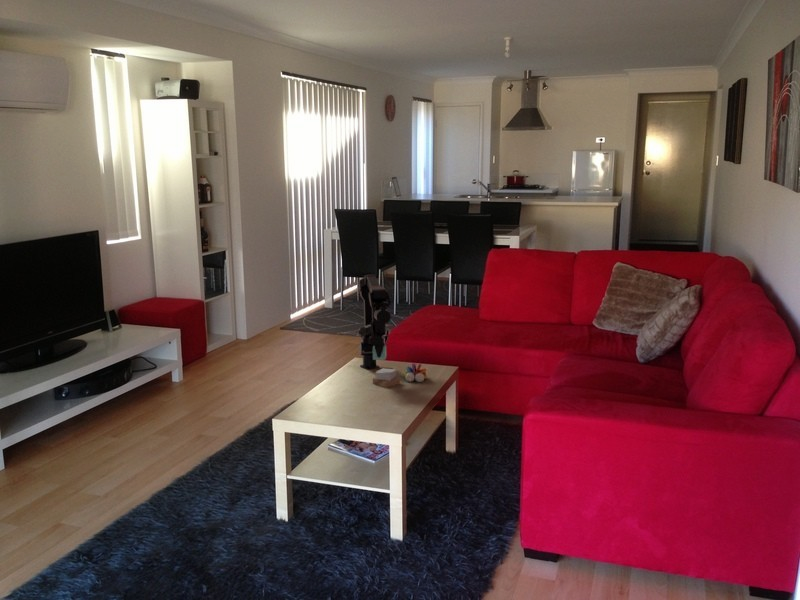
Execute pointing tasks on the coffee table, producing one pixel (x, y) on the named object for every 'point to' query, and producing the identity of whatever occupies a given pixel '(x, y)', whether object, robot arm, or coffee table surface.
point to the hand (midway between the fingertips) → (379, 355)
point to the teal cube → (383, 355)
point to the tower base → (386, 382)
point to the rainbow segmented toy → (415, 373)
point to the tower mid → (385, 374)
